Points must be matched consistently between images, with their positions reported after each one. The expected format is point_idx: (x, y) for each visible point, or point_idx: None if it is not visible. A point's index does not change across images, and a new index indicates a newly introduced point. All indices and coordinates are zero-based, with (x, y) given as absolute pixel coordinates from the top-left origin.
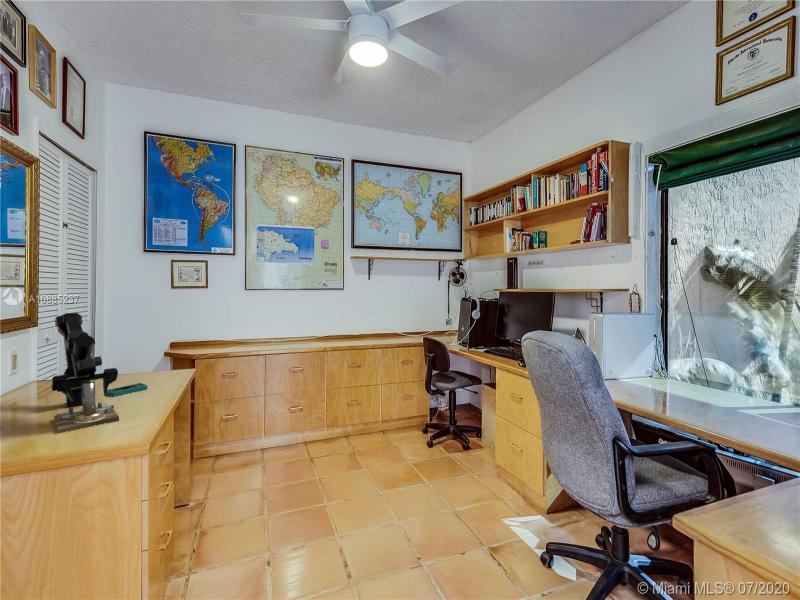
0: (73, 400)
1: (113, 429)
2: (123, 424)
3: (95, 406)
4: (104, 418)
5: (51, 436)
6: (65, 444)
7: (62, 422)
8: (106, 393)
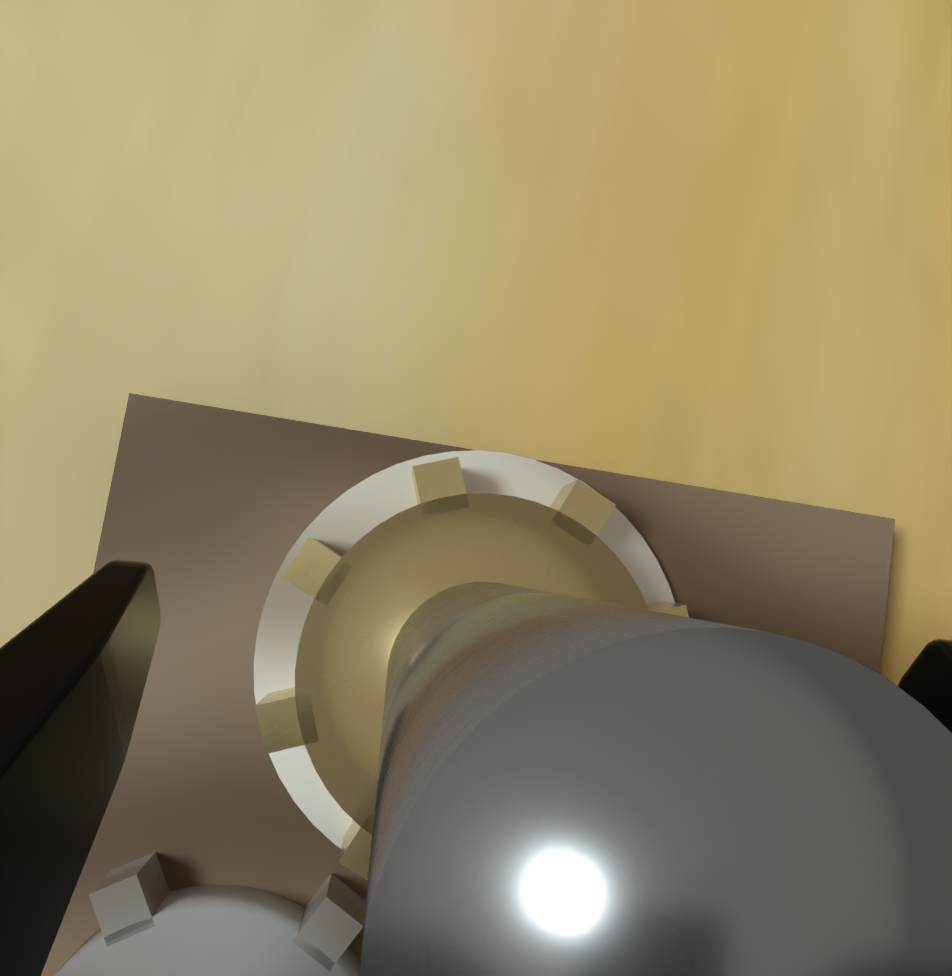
0: (931, 647)
1: (344, 79)
2: (177, 176)
3: (398, 645)
4: (314, 490)
5: (927, 465)
6: (867, 21)
7: None
8: (97, 574)
